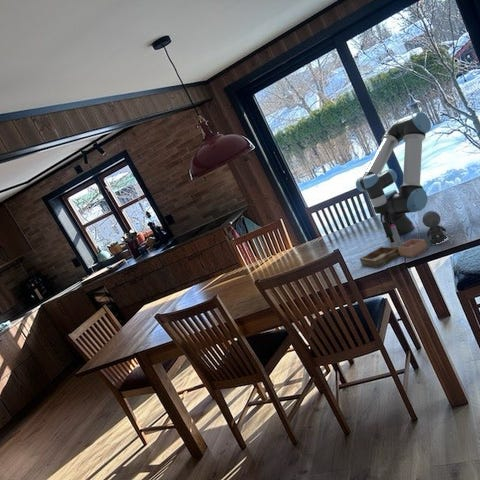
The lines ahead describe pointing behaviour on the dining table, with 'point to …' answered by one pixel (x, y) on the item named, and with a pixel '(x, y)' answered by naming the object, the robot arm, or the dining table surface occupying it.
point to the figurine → (434, 227)
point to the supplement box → (395, 235)
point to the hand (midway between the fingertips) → (396, 244)
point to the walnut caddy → (380, 256)
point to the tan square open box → (412, 248)
